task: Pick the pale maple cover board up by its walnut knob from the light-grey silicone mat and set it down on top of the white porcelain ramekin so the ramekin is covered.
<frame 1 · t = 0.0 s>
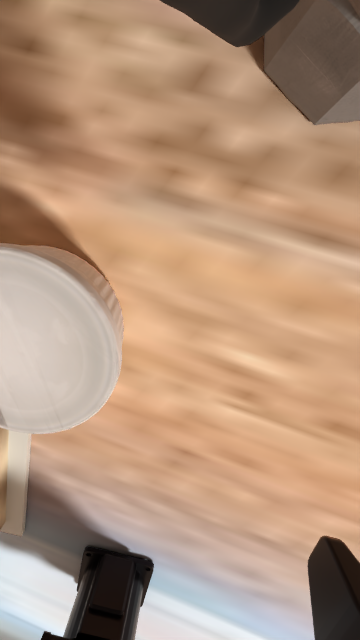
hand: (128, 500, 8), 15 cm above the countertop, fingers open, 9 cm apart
coffeepot: (334, 31, 16), on the countertop
ramekin: (56, 314, 23), on the countertop
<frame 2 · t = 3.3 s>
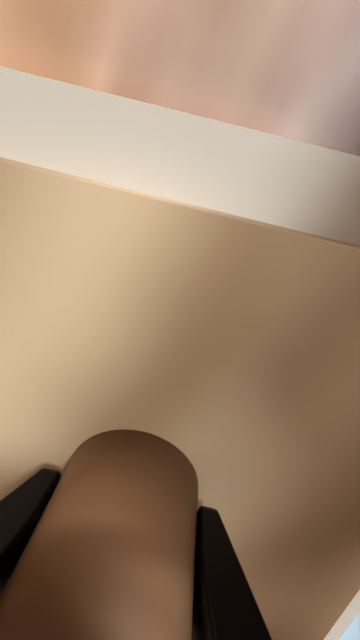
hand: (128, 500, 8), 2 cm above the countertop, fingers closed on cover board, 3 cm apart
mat: (144, 437, 10), on the countertop
cover board: (140, 452, 9), point 1 cm above the countertop, touching gripper, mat
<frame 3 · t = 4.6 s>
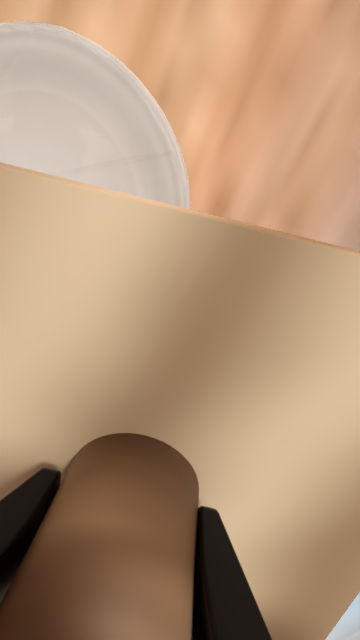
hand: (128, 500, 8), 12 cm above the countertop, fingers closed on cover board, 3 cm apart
cover board: (141, 455, 9), point 11 cm above the countertop, touching gripper
ramekin: (90, 203, 18), on the countertop
when the fingers open (8 cm above the countertop, at t = 5.9 s): cover board drops 1 cm, resting on ramekin.
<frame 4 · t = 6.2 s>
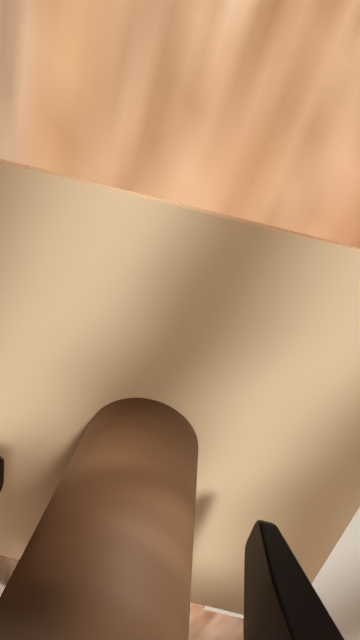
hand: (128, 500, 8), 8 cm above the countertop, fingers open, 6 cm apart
cover board: (148, 422, 11), point 5 cm above the countertop, touching ramekin
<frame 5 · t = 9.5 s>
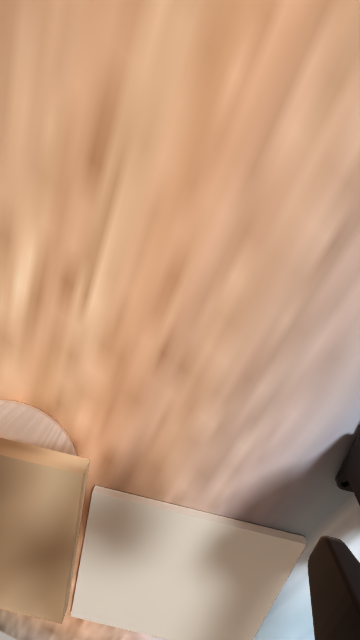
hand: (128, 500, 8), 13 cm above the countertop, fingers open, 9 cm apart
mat: (176, 576, 28), on the countertop
ramekin: (19, 447, 25), on the countertop, touching cover board
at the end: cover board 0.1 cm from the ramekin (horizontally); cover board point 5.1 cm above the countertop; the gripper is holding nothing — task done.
